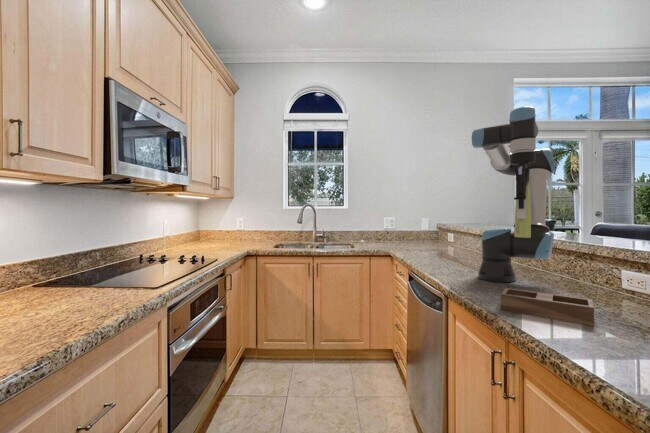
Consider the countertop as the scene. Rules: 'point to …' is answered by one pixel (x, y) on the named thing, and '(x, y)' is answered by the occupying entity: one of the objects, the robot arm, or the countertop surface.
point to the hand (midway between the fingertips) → (522, 218)
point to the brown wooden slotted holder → (548, 306)
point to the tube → (523, 225)
